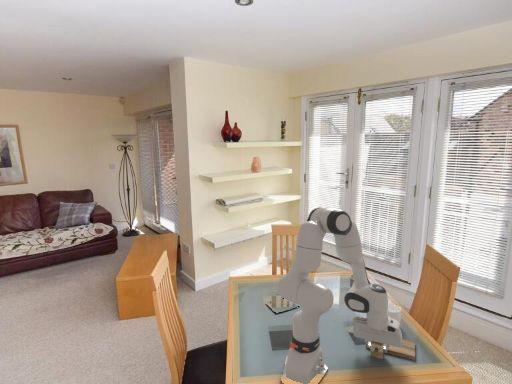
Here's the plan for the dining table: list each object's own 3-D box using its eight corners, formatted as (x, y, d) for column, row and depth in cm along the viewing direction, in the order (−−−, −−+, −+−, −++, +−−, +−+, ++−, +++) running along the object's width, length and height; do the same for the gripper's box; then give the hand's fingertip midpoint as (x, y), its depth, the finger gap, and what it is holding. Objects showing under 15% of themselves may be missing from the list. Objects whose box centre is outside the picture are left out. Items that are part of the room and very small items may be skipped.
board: (415, 360, 125) (415, 356, 125) (366, 348, 135) (366, 344, 134) (414, 345, 135) (414, 341, 134) (369, 334, 144) (369, 330, 144)
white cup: (391, 332, 145) (391, 313, 144) (381, 323, 153) (381, 305, 151) (404, 328, 147) (404, 310, 146) (393, 320, 155) (393, 303, 153)
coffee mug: (348, 288, 192) (348, 274, 191) (364, 288, 191) (363, 274, 190) (353, 298, 179) (353, 283, 178) (370, 298, 178) (370, 283, 177)
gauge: (382, 360, 126) (382, 348, 125) (370, 357, 128) (370, 345, 127) (385, 339, 139) (385, 328, 138) (374, 336, 142) (374, 325, 141)
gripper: (351, 319, 130) (351, 347, 132) (402, 330, 120) (401, 360, 122) (353, 312, 135) (354, 339, 137) (402, 322, 126) (402, 351, 127)
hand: (377, 349), depth 129 cm, fingers open, 5 cm apart
